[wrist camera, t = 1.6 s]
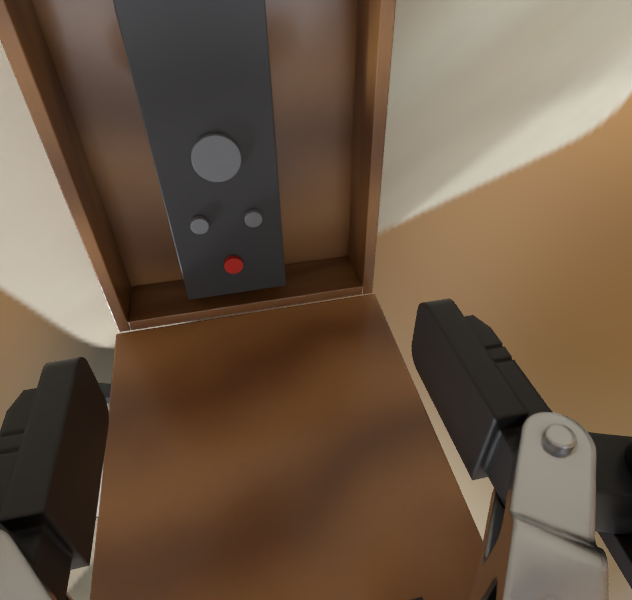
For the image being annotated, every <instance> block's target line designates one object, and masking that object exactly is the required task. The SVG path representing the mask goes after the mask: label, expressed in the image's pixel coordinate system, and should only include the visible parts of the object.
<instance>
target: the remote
mask: <svg viewBox="0 0 632 600" xmlns="http://www.w3.org/2000/svg"><path fill="white" fill-rule="evenodd" d="M113 4H114V8H115V12H116V16H117V20H118V24H119V28H120V32H121V35H122V39H123V43H124V47H125V51H126V55H127V59H128V63H129V67H130V71H131V75H132V79H133V83H134V87H135V91H136V95H137V99H138V102H139V106H140V110H141V114H142V118H143V122H144V126H145V130H146V134H147V138H148V142H149V146H150V150H151V154H152V158H153V162H154V166H155V169H156V173H157V177H158V181H159V185H160V189H161V193H162V197H163V201H164V205H165V209H166V213H167V217H168V221H169V225H170V229H171V232H172V236H173V240H174V244H175V248H176V252H177V256H178V260H179V264H180V268H181V272H182V276H183V280H184V284H185V288H186V292H187V296H188V299H189V300H190V299H197V298H204V297H211V296H217V295H224V294H231V293H238V292H244V291H251V290H258V289H264V288H271V287H278V286H285V285H286V277H285V263H284V249H283V236H282V222H281V208H280V195H279V181H278V167H277V154H276V140H275V126H274V113H273V99H272V86H271V72H270V58H269V45H268V31H267V17H266V4H265V0H113Z"/></svg>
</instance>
